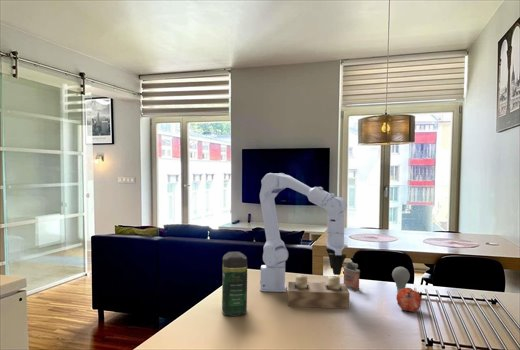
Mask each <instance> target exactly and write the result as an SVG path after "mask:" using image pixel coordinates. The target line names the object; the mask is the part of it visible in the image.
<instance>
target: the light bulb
mask: <svg viewBox="0 0 520 350" xmlns="http://www.w3.org/2000/svg"><path fill="white" fill-rule="evenodd" d="M391 276H392V278H393V281H394V282H395V286H396V287H395V288H396V293H398V292H399V291H400V290H402V289H403V288H407V283H408V282H409V280H410V277H411V274H410V272H409V270H408V269H407V268H405V267H404V266H397V267H395V268H394V269H393V270H392V273H391Z"/></svg>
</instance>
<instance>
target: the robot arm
mask: <svg viewBox="0 0 520 350" xmlns="http://www.w3.org/2000/svg"><path fill="white" fill-rule="evenodd" d="M260 182H261V188H260V192H259V201H260V206H261V207H260V208H261V215H262V220H263V227H264V233H265V240H266V241H265V243H264V245H263V253H262V261H263V263H264V264H261V266H260V280H259V284H260V288H259V289H260V290H259V292H271V293H272V292H273V293H274V292H275V293H276V292H277V293H286V292H287V284H286V261H288V258H289V251H288V249H287V247H286V244H285V242H284V241H283V240H282V239H281V234H280V228H279V221H278V215H277V213H278V212H277V207H276V202H275V198H276V197H277V196H278V195H279V193H280V192H282V191H283V190H285V189H286V188H289V189H291V190H293V191H294V192H295V191H296V192H297V193H300V194H302V195H303V196H306V197H307V199H308V201H309V202H310V203H312V204H314V205H316V206H318V207H320V208H321V209H324V211H325V212H326V213H327V219H326V220H327V221H326V224H327V225H326V228H327V229H326V238H327V239H326V240H327V241H326V247H325V250H326V251H327V255H328V260H329V266H330V269H332V273H333V276H341V273H342V269H343V268H342V267H343V265H344V261H345V260H346V258H347V254H345V253H343V254H342V252H343V250H344V249H345V248H348V246H349V245H348V244H345V211H346V209H347V206H348V204H347V201H346V199H344V198H343V197H342V196H335V195H336V194H335V193H332V192H331V193H330V192H328V191H326V190H324V187H322V186H314V187H310V186H309V185H307V184H305V183H304V182H301V181H300V180H298V179H296V178H294V177H293V176H291V175H289V174H285V173H283V172H279V173H273V172H269V173H266V174H265V175H264V176H263V177H262V179H261V180H260Z"/></svg>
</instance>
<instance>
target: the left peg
mask: <svg viewBox="0 0 520 350" xmlns="http://www.w3.org/2000/svg"><path fill="white" fill-rule="evenodd" d="M295 282H296V289H307V282H308V276H307V275H305V274H297V275H295Z"/></svg>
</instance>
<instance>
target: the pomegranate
mask: <svg viewBox="0 0 520 350" xmlns="http://www.w3.org/2000/svg"><path fill="white" fill-rule="evenodd" d="M396 293H397V292H396ZM396 301H397V305H398V307H399V308H400V309H402V310H403V311H405V312H412V313H413V312H414V313H415V312H417V311H418V310H419V309H420V308H421V306H422V297H421V294H420V293H419V292H418V291H415V290H414V289H413V288H411V287H405V288H403V289H402V290H400V291H399V292H398V293H397V294H396Z"/></svg>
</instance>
